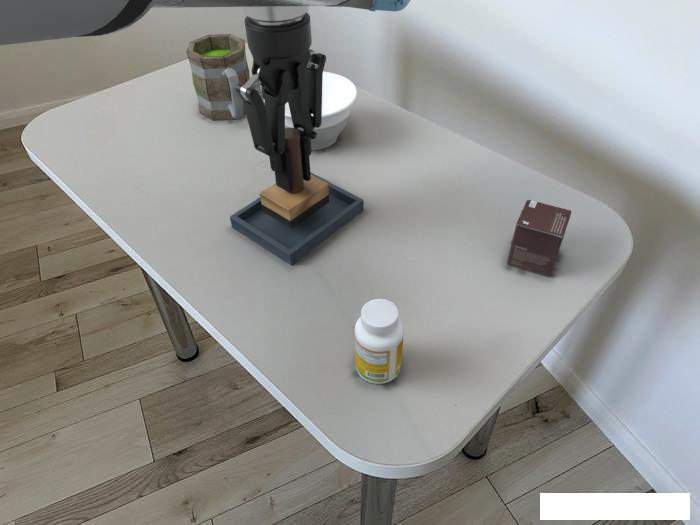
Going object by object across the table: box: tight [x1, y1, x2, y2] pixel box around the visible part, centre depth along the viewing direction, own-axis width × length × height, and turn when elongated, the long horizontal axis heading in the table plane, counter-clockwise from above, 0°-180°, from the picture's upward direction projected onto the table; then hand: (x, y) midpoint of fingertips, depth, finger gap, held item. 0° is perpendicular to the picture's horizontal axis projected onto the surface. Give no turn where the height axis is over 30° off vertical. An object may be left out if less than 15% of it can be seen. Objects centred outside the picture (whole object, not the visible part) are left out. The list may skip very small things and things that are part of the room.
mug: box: [185, 33, 251, 121], centre depth 105 cm, size 16×11×12 cm
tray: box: [229, 171, 365, 266], centre depth 86 cm, size 16×13×2 cm
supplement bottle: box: [354, 298, 405, 385], centre depth 64 cm, size 5×5×10 cm
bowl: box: [263, 71, 359, 151], centre depth 100 cm, size 16×16×9 cm
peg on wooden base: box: [259, 128, 329, 229], centre depth 80 cm, size 8×6×12 cm
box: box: [506, 199, 572, 277], centre depth 77 cm, size 6×6×7 cm
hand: (293, 181), depth 82 cm, fingers closed on peg on wooden base, 3 cm apart
